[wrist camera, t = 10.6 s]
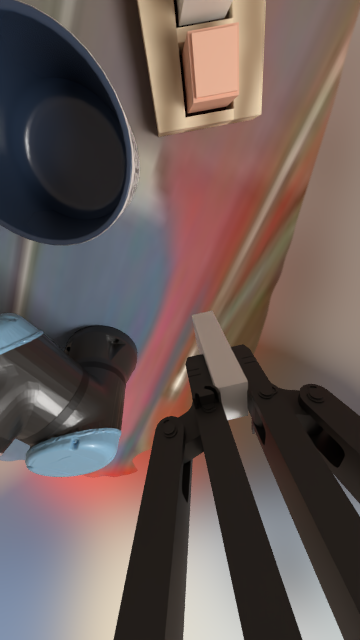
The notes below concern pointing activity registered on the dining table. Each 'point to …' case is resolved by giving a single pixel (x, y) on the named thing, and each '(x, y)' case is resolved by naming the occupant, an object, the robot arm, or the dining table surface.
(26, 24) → the planter
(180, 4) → the key mid
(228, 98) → the key
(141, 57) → the dining table surface
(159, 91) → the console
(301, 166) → the dining table surface
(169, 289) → the dining table surface
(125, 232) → the dining table surface
